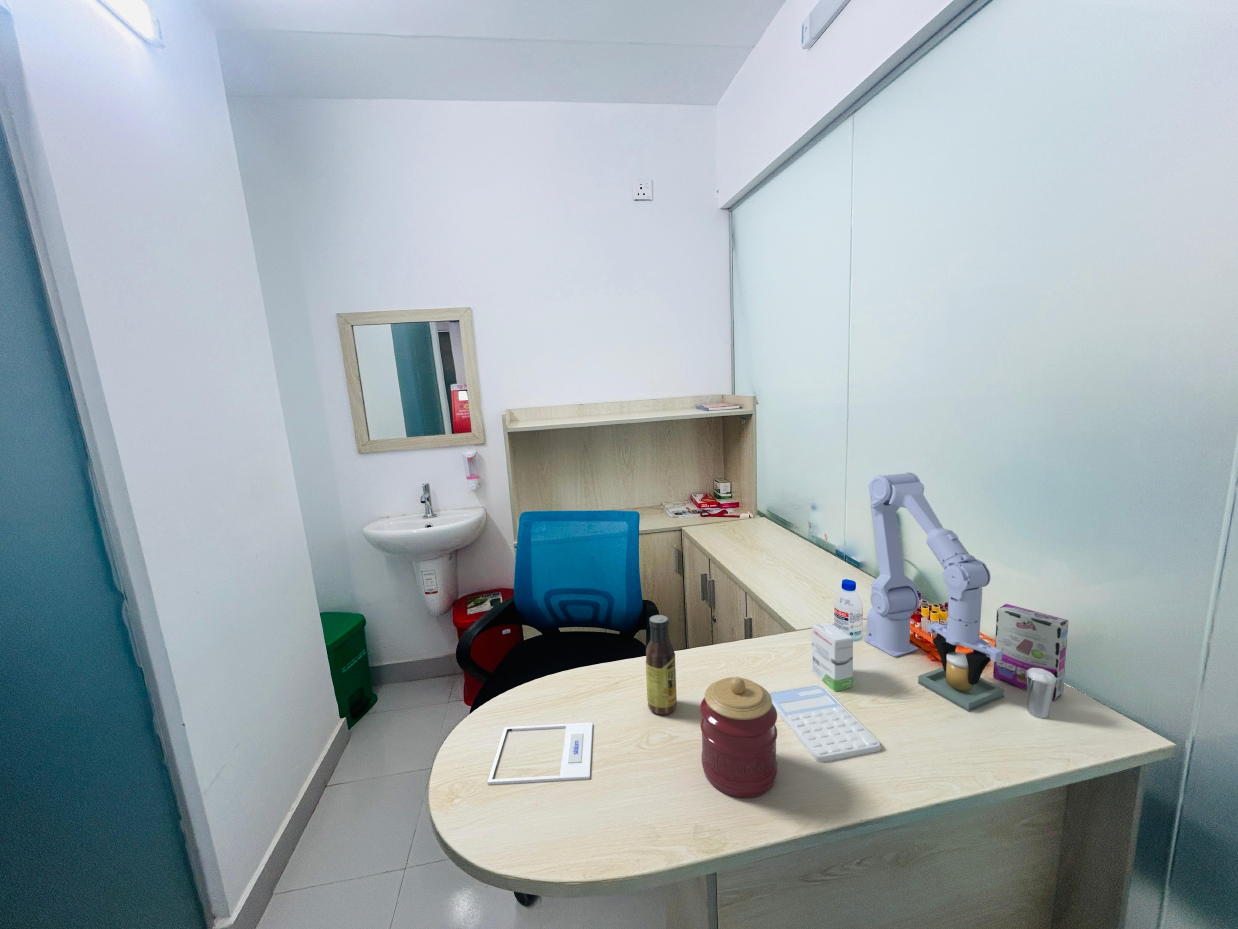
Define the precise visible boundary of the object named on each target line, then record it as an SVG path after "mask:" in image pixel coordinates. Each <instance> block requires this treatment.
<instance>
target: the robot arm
mask: <svg viewBox="0 0 1238 929" xmlns="http://www.w3.org/2000/svg"><path fill="white" fill-rule="evenodd" d="M924 491H925V485H924V484H923V483H922V482H921V480H920V478H919V476H918V475H916V474H915V472H905V473H896V474H885V475H880V474H879V475H876V476H874V477H872V480H871V481H870V482H869V484H868V493H869V500H870V507H871V509H870V510H871V515H872V523H873V524H872V525H873V531H874V537H875V540H874V541H875V544H876V545H875V547H876V553H877V561H878V562H877V564H878V569H879V575H878V576H877V577H876V578H875V580H874V581H872V582H871V584H870V585H871V593H870V597H869V598H870V599H869V600H870V604H871V608H870V609H869V610H868V613H867V615H866V637H864V638H863V641H864V642H866V643H868V644H870V645H872V646H874V647H875V648H877V649H879V650H881V651H882V652H884V653H887V654H889V655H891V656H892V657H894V658H897V657H900V656H902V655H906V654H909V653H912V652H915V651H918V647H917V646H915V645H914V644H911V643H910V640H911V639H910V636H911V616H913V615H914V611H917V609H918V608H919V606H920V598H919V597H920V596H919V594H918V592H917V590H916V588H915V582H914V581H913V579H911V578H909V576H906V575H905V568H904V561H903V554H902V547H901V540H900V539H901V538H900V531H899V525H898V524H899V523H898V517H897V516H898V515H897V511H899V509H900V508H904V509H906V510H907V511H908V512H909V514H911V516H912V517H913V518H914V519H915V521H916V522H917V524H919V526H920V527H921V528H922V530H923V531H924V532H925V533H926V535H927V537H926V538H927V539H926V545H927V546H928V548H929V549H930V551H931V552H932V554H933V555H934V556H935V558H936V559H937V561H938V562H939V564H940V566H941V567H942V568H943V570H944V571H942V575H941V576H942V579H943V582H944V584H945V586H946V593H947V596H948V602H947V620H946V622H947V623H946V624H941V623H939V622H936V621H931V622H927V627H926V628H927V629H926V631H927V632H928V633H930V634H936V637H934V638H932V643H933V645H934V646H935V648H936V650H937V652H938V655H939V657H940V660H941V664H942V667H943V669H944V671H946V666H947V660H946V658H947V653H949V652H956V650H957V646H961V647H965V648H968V649H970V650H972V651H971V652H968V653H965V654H966V658H967V662H968V669H969V673H968V682H969V684H971V685H974V684H977V683H978V682H979V679H980V677H981V676H982V674H983V672H984V670H985V669H986V667H987V665H988V664H989V663H990V662H991V661H993V663H994V662H997V661H1000V660H1002V651H1001V650H999V649H997V648H995V645H994V646H993V644H990V643H989V642H988V641H986V640H984V639H983V638H981V637H980V634H981V632H980V631H981V617H982V600H983V588H984V587H986V586H987V587H988V585H989V584H990V581H991V572H990V570H989V568H988V567H987V564H986V563H985V562H983V561H982V560H980V559H977V558H976V557H975V556H974V555H972V554H970V553H969V551H968V550H967V549H966V548H965V546H964V545H963V543H962V542H961V540H960V539H959V536H958V535H957V534H956V533H955V532H954V531H953V530H951V529H948V528H944V527H943V525H942V523H941V521H940V520H939V519H938V516H937V514H935V512H934V510H933V508H932V507H931V505H930V503H929V502H928V500H927V498H926V496H925V494H924Z"/></svg>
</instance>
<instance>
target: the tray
mask: <svg viewBox="0 0 1238 929" xmlns="http://www.w3.org/2000/svg"><path fill="white" fill-rule="evenodd" d="M917 678H918V679H917V681H918V682H917V684H918V685H920V686H922V687H924V688H925V689H927V690H929V691H930V692H933V693H934V694H936V695H938V696H940V697H942V698H944V700H945V699H946V700H947V701H949V702H951V703H952V704H954V705H955V706H957V707H960V708H961V709H963V710H965V712H966V711H967V712H971V711H973V710H976V709H978V708H982V707H983V706H986V705H988V704H990V703H994V702H995V701H997V700H1000V699H1003V698H1004V697H1005V688H1003V687H1000V686H999V685H997V684H995V683H992V682H991V681H989V680H987V679H984V678H983V677H981V676H980V679H979V682H978V683H977V684H974V685H973V687H972V689H971V690H959V689H955V688H953V687H951V686H949V685H948V684H947V683H946V671H944V669H943V666H942V667H939V668H936V669H933V670H931V671H928V672H925V673H922V674H920V675H917Z"/></svg>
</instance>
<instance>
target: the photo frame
mask: <svg viewBox="0 0 1238 929" xmlns="http://www.w3.org/2000/svg"><path fill="white" fill-rule="evenodd" d="M552 729H553V730H555V729H565V732H564V740H563V741H564V742H563V747H562V748H563V749H562V755H561V762H560V771H559V775H545V776H544V775H543V776H526V777H507V778H494V775H495V774H494V773H495V770H496V767H497V765H498V762H499V757H500V755H501V751H502V747H503V744H504V740H505V738H506V735H507V731H508V730H511V732H518V731H520V732H521V731H533V730H534V731H536V730H537V731H538V730H552ZM592 742H593V721H591V722H577V723H576V722H575V723H574V722H573V723H560V724H559V723H557V724H555V723H554V724H540V725H539V724H536V725H523V726H522V725H521V726H504V728H503V730H502V734H501V738H500V741H499V744H498V747H497V750H496V754H495V757H494V760H493V764H492V766H491V769H490V773H489V775H488V779H487V786H490V785H507V784H509V785H510V784H525V783H526V784H527V783H543V782H545V783H546V782H559V781H561V782H562V781H576V780H577V781H579V780H580V781H581V780H590V778H591V761H592V760H591V759H592V758H591V757H592V744H593V743H592Z"/></svg>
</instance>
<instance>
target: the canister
mask: <svg viewBox="0 0 1238 929" xmlns="http://www.w3.org/2000/svg"><path fill="white" fill-rule="evenodd" d="M769 693H770V692H769V691H768V690H767V689H766V688H764V687H763V686H762V685H760V684H759V683H757V682H754V681H753V680H750V679H747V678H744V677H740V676H739V677H738V676H736V677H735V676H733V677H726V678H722V679H719V680H717V681H714V682H713V683H711V684H710V685H709V686H708V687H707V688H706V690H705V693H704V698H703V699H702V700H701V703H700V706H699V709H700V710H699V711H700V714H701V716H702V718H701V721H700V732H701V742H702V743H701V745H702V746H701V748H702V751H701V765H702V768H703V772H704V776H705V778H706V780H707V781H708V782H709V783H710V784H711V785H712V786H713V787H714V788H716V789H717V790H719V792H722V793H724V794H726V795H729V796H731V797H732V796H733V797H735V798H736V797H737V798H742V799H743V798H746V799H747V798H748V799H749V798H754V797H759V796H762V795H763V794H765V793H767V792H768V791H770V790H771V788H772V787H773V786H774V784H775V782H776V777H777V774H778V760H777V739H778V729H777V726H776V723H777V721H778V713H777V711H776V708H775V707H774V705H773V704H772V699H771V696H770V694H769Z"/></svg>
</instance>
